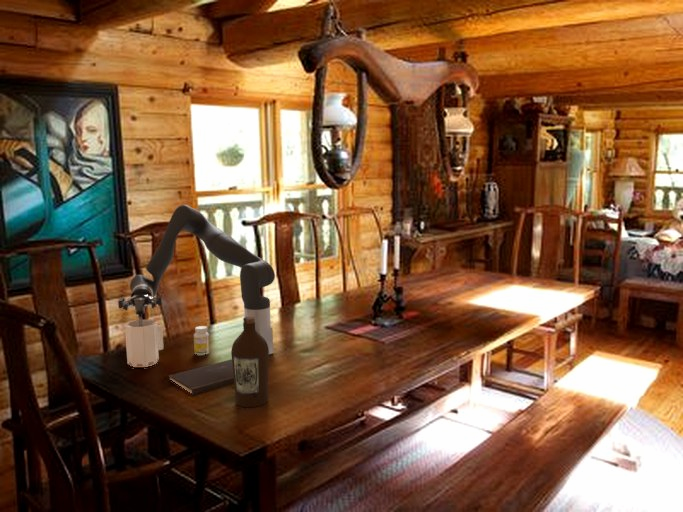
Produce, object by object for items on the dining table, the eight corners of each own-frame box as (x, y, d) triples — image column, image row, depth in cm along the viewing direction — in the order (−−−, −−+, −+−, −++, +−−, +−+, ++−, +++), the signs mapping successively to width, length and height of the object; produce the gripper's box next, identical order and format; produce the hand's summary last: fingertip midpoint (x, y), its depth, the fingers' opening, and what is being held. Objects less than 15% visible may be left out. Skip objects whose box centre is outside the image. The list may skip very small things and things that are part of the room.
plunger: (156, 351, 205) (153, 298, 202) (139, 357, 200) (135, 302, 197) (146, 347, 209) (142, 295, 206) (128, 352, 204) (124, 299, 201)
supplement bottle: (203, 356, 213) (202, 330, 211) (191, 354, 215) (190, 328, 213) (212, 351, 217) (211, 326, 216) (200, 350, 220) (199, 324, 218)
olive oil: (240, 393, 179) (237, 312, 175) (274, 394, 177) (272, 313, 173) (228, 407, 169) (224, 322, 165) (264, 409, 167) (261, 323, 163)
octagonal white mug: (170, 361, 207) (168, 321, 205) (138, 371, 198) (135, 329, 196) (154, 355, 214) (152, 316, 211) (122, 364, 205) (119, 323, 202)
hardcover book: (169, 382, 190) (168, 375, 189) (232, 365, 205) (232, 359, 204) (192, 397, 178) (192, 389, 177) (257, 378, 193) (257, 371, 192)
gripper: (120, 287, 214) (116, 297, 199) (161, 284, 218) (160, 294, 202) (121, 307, 215) (117, 318, 200) (163, 304, 219) (162, 315, 204)
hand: (139, 306), depth 201 cm, fingers open, 8 cm apart
